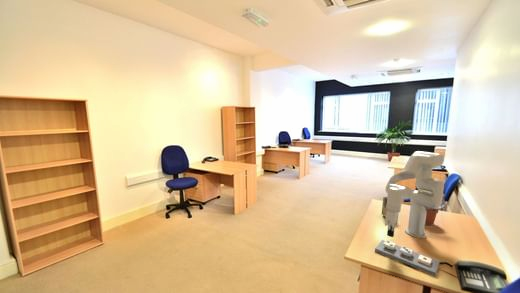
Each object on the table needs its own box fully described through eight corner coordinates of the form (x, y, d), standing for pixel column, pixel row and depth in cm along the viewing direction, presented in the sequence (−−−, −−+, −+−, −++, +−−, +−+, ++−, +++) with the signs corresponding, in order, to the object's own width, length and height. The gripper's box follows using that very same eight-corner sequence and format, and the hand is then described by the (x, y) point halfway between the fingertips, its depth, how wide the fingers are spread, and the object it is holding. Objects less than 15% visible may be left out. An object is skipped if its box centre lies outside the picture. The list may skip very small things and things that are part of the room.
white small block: (401, 251, 136) (402, 245, 136) (412, 255, 132) (413, 249, 132) (399, 255, 132) (399, 249, 132) (410, 259, 128) (411, 253, 128)
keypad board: (382, 242, 148) (382, 239, 148) (439, 264, 127) (439, 261, 127) (374, 251, 138) (375, 248, 138) (435, 276, 117) (435, 272, 117)
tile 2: (385, 245, 142) (386, 239, 142) (395, 249, 138) (396, 243, 138) (382, 248, 138) (383, 243, 138) (392, 252, 135) (393, 247, 134)
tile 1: (419, 260, 130) (419, 254, 129) (431, 264, 126) (431, 258, 126) (417, 264, 126) (417, 258, 126) (429, 269, 122) (430, 263, 122)
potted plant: (417, 216, 189) (422, 176, 185) (439, 223, 177) (445, 181, 172) (409, 220, 181) (414, 179, 176) (431, 228, 168) (437, 184, 163)
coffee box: (395, 219, 182) (397, 200, 180) (387, 219, 182) (389, 201, 179) (388, 214, 191) (389, 196, 189) (381, 214, 191) (382, 196, 188)
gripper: (390, 202, 143) (387, 229, 145) (382, 209, 132) (379, 237, 135) (403, 206, 137) (400, 234, 140) (397, 213, 127) (393, 243, 129)
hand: (390, 235), depth 137 cm, fingers closed
